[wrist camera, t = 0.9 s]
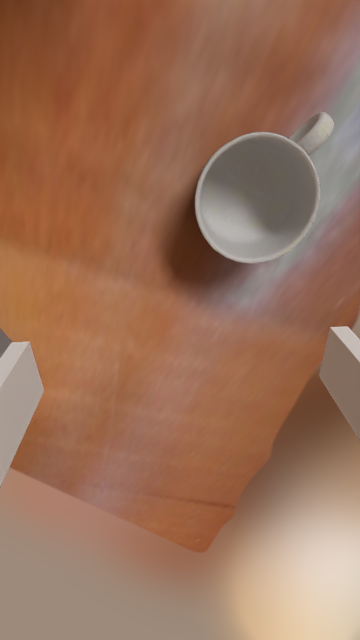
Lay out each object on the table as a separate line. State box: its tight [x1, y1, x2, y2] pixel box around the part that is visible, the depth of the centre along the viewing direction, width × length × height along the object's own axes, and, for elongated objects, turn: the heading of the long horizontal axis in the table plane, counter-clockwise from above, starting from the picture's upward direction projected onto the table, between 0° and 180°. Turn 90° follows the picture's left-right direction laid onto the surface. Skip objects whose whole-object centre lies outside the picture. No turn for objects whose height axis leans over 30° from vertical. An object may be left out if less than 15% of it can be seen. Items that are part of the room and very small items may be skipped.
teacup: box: [195, 112, 334, 264], centre depth 32 cm, size 14×11×8 cm
